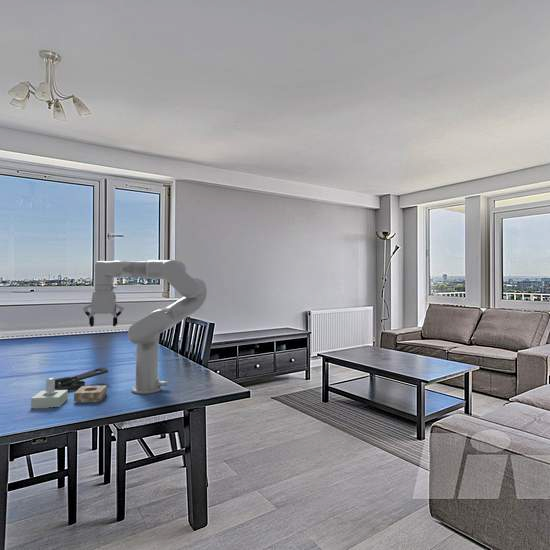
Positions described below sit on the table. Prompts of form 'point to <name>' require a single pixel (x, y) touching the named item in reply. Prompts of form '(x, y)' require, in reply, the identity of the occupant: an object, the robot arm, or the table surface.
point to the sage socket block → (49, 399)
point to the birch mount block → (90, 393)
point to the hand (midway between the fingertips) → (103, 326)
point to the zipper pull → (76, 380)
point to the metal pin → (50, 386)
